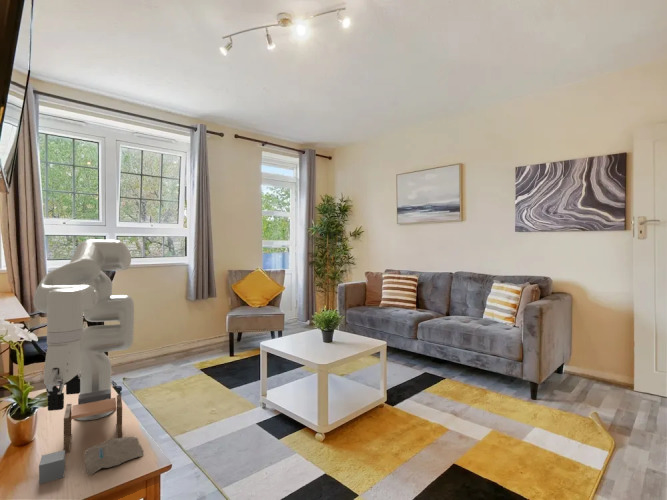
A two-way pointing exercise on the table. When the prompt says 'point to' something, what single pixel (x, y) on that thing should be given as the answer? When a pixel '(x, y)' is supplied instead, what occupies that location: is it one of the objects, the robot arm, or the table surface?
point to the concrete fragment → (112, 453)
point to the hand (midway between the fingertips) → (64, 401)
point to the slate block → (52, 466)
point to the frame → (68, 424)
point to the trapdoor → (93, 404)
